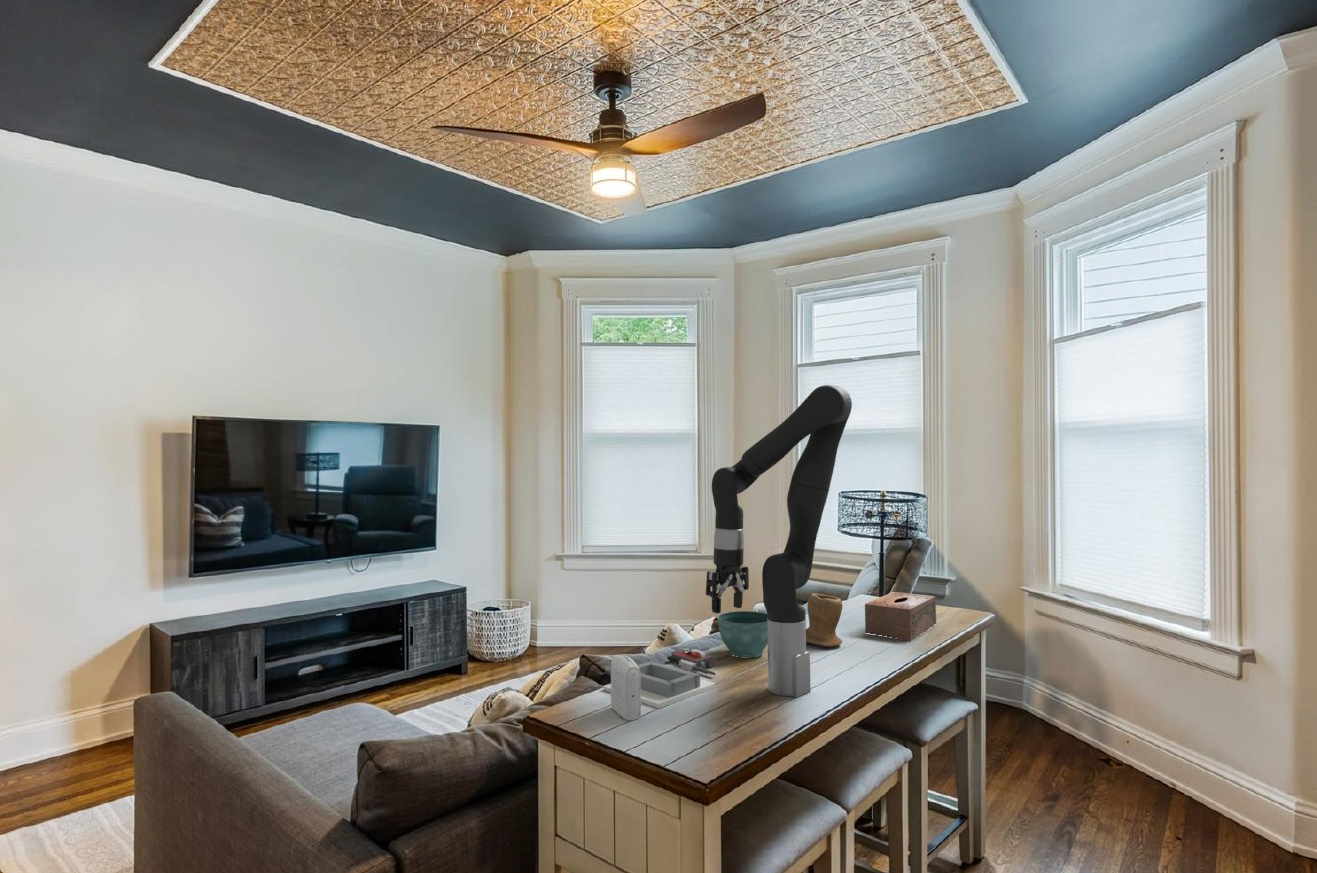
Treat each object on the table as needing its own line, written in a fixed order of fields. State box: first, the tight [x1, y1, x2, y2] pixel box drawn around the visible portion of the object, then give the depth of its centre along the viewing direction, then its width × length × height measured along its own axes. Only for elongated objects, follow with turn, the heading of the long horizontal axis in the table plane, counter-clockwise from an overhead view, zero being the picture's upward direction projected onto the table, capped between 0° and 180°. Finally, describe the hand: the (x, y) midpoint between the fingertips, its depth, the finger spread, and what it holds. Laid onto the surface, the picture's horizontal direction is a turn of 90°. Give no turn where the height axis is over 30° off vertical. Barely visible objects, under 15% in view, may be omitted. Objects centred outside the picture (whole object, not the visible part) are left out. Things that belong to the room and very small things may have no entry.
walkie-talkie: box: [667, 647, 716, 676], centre depth 189 cm, size 9×4×20 cm
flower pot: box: [716, 610, 768, 659], centre depth 202 cm, size 16×16×11 cm
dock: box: [602, 660, 716, 709], centre depth 172 cm, size 19×20×4 cm
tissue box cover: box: [864, 591, 937, 641], centre depth 229 cm, size 26×14×10 cm, turn 142°
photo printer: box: [610, 654, 642, 721], centre depth 155 cm, size 10×4×12 cm, turn 24°
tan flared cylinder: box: [806, 592, 843, 647], centre depth 213 cm, size 15×12×15 cm
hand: (727, 610), depth 176 cm, fingers open, 8 cm apart
